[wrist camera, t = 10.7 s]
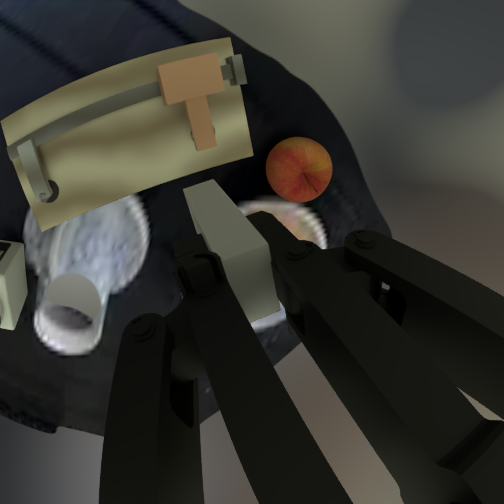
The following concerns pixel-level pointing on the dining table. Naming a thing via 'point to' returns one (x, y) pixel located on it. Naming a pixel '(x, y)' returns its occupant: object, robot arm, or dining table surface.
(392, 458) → the robot arm
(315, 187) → the apple
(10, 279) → the container
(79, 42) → the dining table surface
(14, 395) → the dining table surface
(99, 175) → the board
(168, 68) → the block
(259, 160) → the dining table surface
